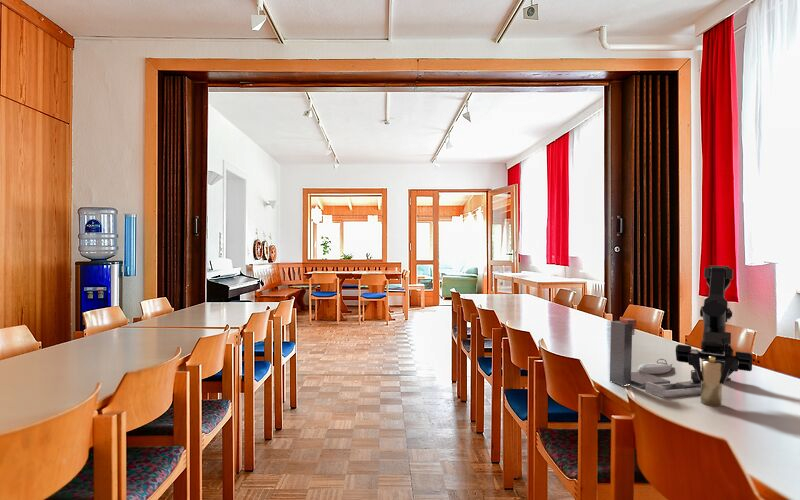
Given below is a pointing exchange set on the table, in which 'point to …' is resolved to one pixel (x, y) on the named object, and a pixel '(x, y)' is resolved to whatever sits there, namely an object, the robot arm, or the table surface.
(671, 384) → the guide rail
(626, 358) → the press bed
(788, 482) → the table surface
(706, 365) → the disc
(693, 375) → the sliding block with knob
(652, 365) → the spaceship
